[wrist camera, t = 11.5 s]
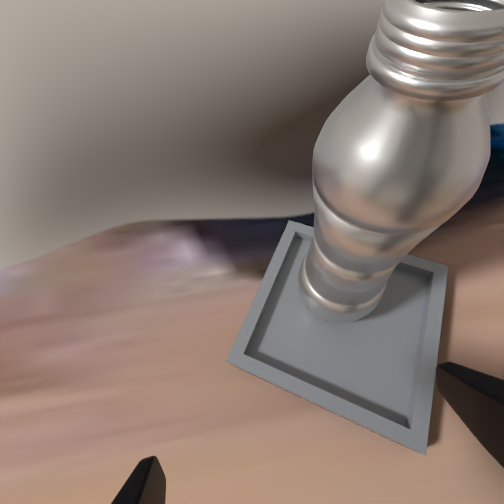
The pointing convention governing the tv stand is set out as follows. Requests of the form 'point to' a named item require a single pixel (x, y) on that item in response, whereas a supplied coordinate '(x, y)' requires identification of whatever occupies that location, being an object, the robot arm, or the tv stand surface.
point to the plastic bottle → (401, 148)
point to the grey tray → (350, 345)
